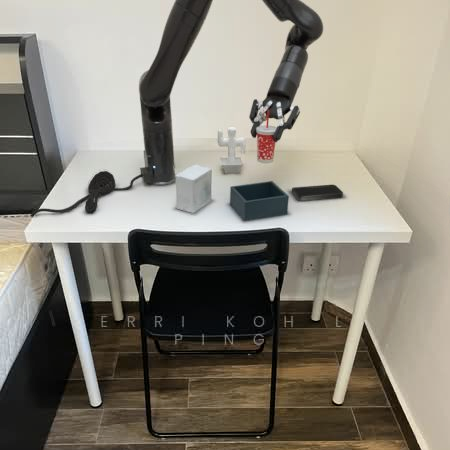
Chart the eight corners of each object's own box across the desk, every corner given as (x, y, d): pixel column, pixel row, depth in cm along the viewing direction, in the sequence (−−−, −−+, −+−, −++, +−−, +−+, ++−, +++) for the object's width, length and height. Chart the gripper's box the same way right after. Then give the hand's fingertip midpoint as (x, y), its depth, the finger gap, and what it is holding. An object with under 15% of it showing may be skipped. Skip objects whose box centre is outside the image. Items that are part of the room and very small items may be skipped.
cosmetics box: (194, 214, 134) (193, 179, 127) (176, 209, 136) (174, 175, 130) (212, 200, 141) (212, 167, 135) (194, 196, 144) (193, 163, 137)
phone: (344, 194, 143) (298, 197, 141) (343, 197, 144) (298, 200, 141) (334, 184, 149) (290, 187, 147) (334, 187, 150) (290, 190, 148)
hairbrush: (73, 204, 131) (91, 168, 151) (75, 216, 134) (93, 178, 153) (102, 205, 132) (116, 168, 151) (104, 216, 134) (118, 179, 153)
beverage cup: (252, 157, 135) (255, 106, 126) (273, 156, 135) (277, 106, 127) (256, 164, 130) (259, 113, 121) (277, 164, 130) (281, 112, 122)
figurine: (245, 174, 158) (247, 130, 149) (218, 175, 157) (218, 131, 149) (243, 167, 164) (244, 124, 155) (216, 168, 163) (216, 124, 154)
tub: (244, 221, 130) (244, 202, 127) (229, 204, 139) (230, 186, 136) (287, 214, 134) (289, 195, 131) (270, 198, 143) (272, 180, 139)
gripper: (258, 72, 128) (236, 127, 126) (306, 78, 122) (284, 135, 121) (265, 89, 134) (245, 141, 133) (311, 95, 129) (290, 150, 128)
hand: (264, 138), depth 127 cm, fingers closed on beverage cup, 6 cm apart
